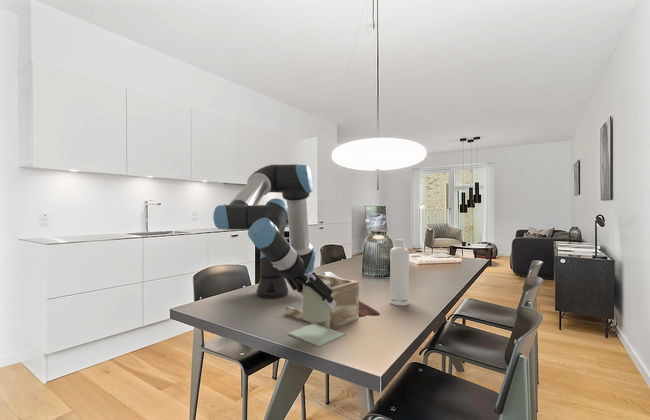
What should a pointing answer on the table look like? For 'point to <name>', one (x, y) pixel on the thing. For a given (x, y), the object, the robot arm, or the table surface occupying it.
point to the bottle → (399, 273)
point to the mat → (316, 334)
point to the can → (314, 305)
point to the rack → (345, 299)
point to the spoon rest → (329, 274)
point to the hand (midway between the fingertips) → (323, 303)
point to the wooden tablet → (366, 310)
